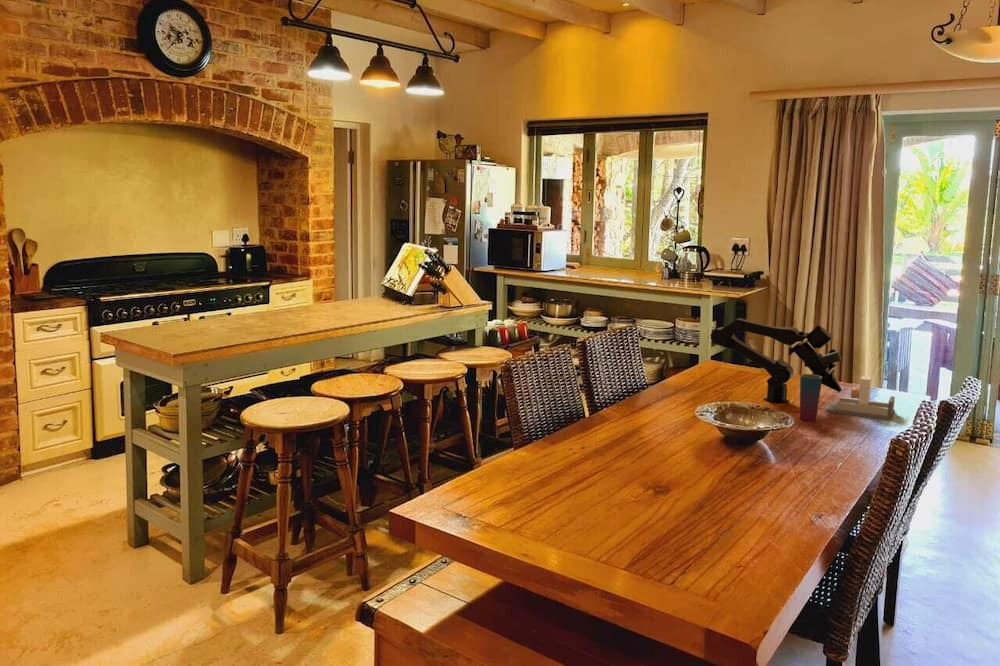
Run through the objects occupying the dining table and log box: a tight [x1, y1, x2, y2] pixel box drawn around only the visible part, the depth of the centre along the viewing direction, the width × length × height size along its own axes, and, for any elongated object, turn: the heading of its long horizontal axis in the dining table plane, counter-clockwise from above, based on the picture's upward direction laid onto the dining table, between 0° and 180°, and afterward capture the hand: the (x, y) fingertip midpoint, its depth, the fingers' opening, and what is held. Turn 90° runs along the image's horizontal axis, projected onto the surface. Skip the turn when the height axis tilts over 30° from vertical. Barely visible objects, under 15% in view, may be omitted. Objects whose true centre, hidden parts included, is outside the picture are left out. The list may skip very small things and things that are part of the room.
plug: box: [850, 375, 873, 405], centre depth 264 cm, size 6×5×11 cm
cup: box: [799, 373, 822, 423], centre depth 254 cm, size 7×7×15 cm
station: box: [825, 395, 896, 422], centre depth 264 cm, size 20×12×6 cm, turn 59°
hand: (840, 391), depth 267 cm, fingers closed
